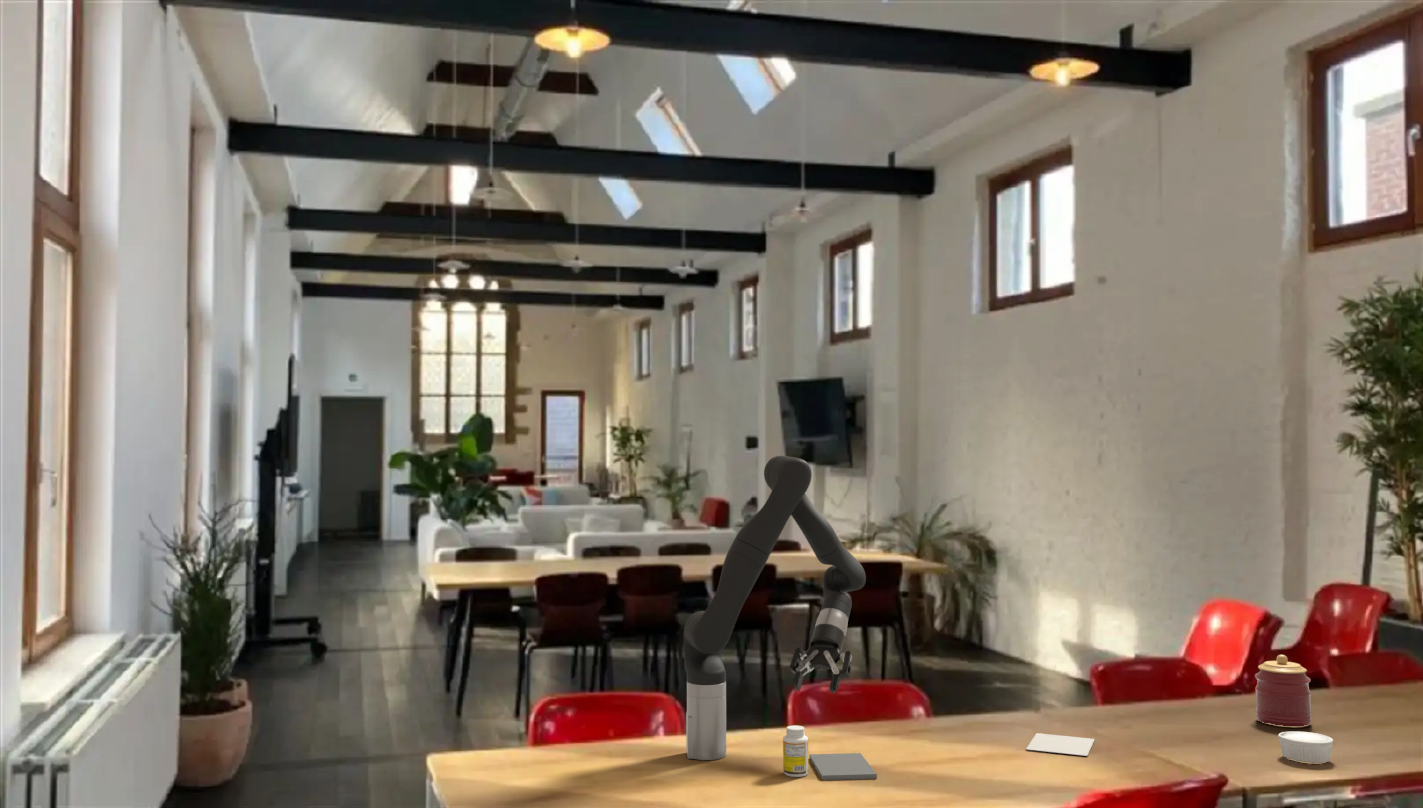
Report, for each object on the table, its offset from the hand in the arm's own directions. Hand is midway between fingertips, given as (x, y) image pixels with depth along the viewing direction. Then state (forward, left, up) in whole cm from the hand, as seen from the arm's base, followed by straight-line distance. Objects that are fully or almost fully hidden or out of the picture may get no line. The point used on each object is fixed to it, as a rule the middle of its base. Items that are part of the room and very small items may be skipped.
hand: (814, 689), depth 256 cm
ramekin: (+113, -9, -17) cm, 114 cm away
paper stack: (+63, +2, -17) cm, 66 cm away
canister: (+127, +24, -16) cm, 131 cm away
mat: (+5, -7, -16) cm, 18 cm away
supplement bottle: (-6, -10, -16) cm, 20 cm away
